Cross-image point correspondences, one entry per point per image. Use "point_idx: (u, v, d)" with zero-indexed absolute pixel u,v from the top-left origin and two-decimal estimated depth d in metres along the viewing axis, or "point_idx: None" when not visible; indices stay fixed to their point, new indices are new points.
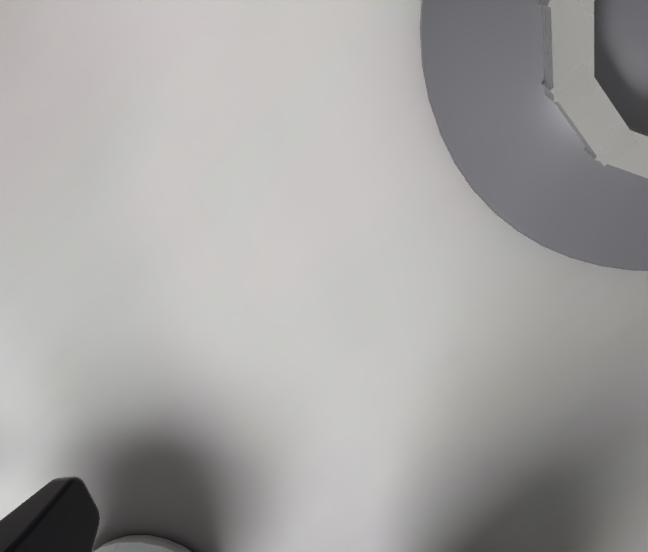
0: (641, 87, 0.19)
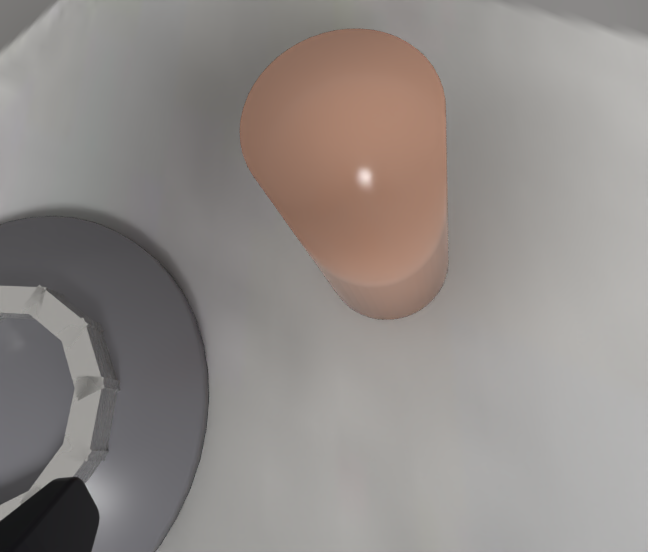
0: (0, 481, 0.24)
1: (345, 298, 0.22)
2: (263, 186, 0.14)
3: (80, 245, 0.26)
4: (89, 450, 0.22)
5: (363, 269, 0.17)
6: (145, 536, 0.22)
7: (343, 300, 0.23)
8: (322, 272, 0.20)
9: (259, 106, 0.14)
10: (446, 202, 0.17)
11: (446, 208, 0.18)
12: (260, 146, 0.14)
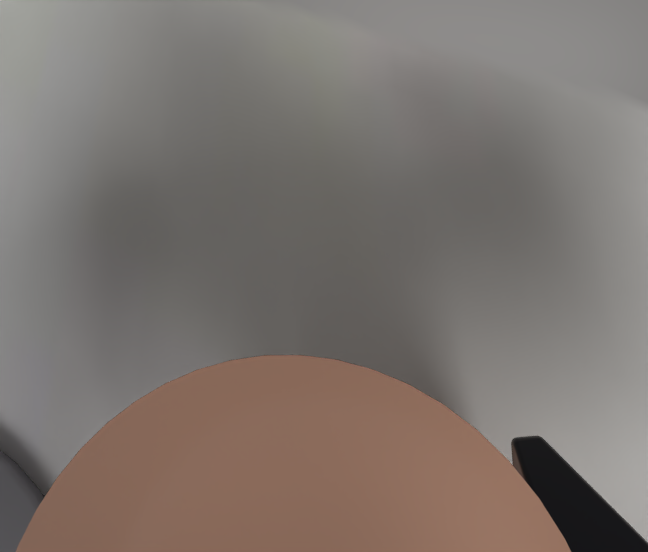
0: None
1: None
2: None
3: None
4: None
5: None
6: None
7: None
8: None
9: None
10: None
11: None
12: None
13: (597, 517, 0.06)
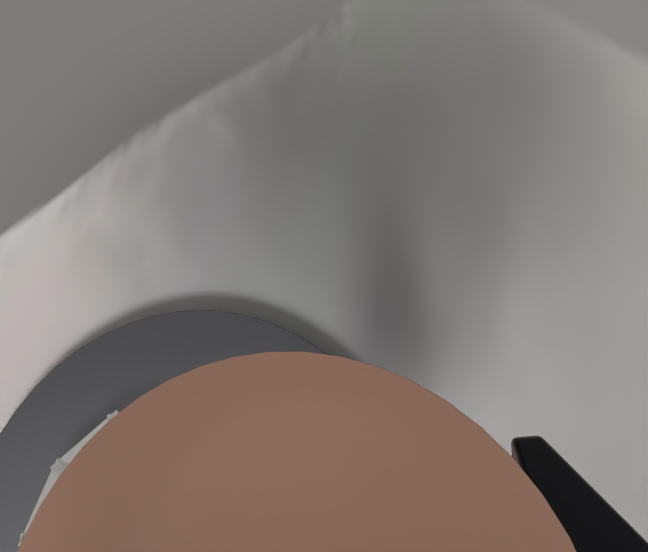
0: None
1: None
2: None
3: None
4: None
5: None
6: None
7: None
8: None
9: None
10: None
11: None
12: None
13: (597, 517, 0.06)
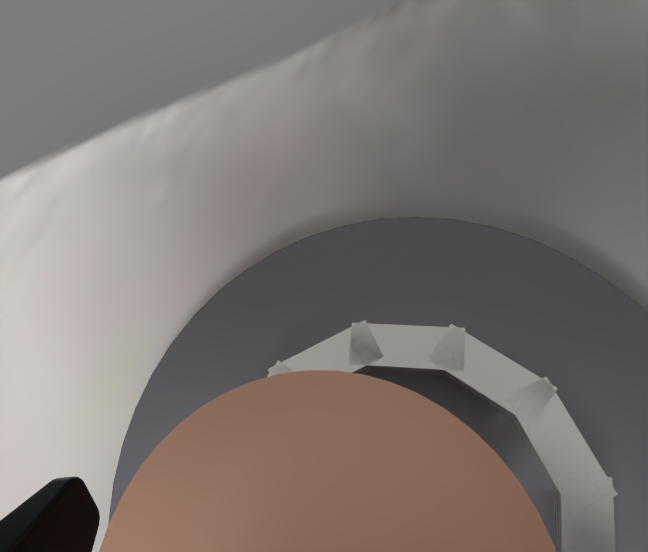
0: None
1: None
2: None
3: (602, 328, 0.16)
4: None
5: None
6: None
7: None
8: None
9: None
10: None
11: None
12: None
13: None
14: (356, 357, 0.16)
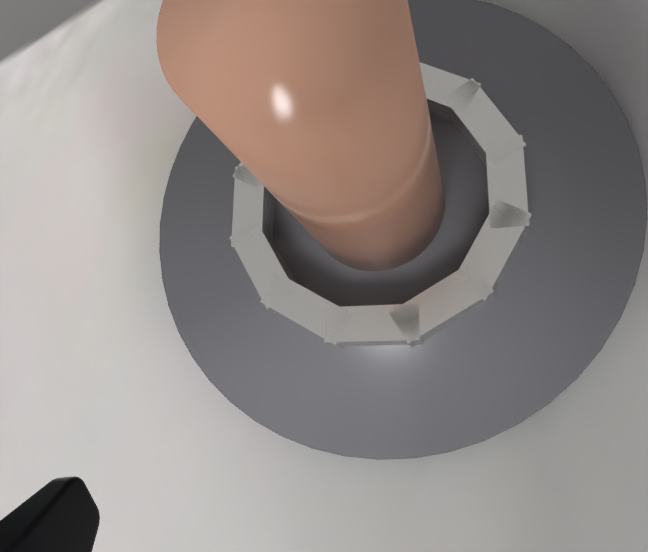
0: (351, 279, 0.21)
1: (329, 250, 0.19)
2: (187, 103, 0.11)
3: (519, 49, 0.21)
4: (490, 289, 0.18)
5: (334, 206, 0.14)
6: (515, 409, 0.18)
7: (330, 254, 0.21)
8: None
9: (177, 8, 0.12)
10: (426, 116, 0.14)
11: (428, 124, 0.15)
12: (181, 56, 0.11)
13: None
14: None
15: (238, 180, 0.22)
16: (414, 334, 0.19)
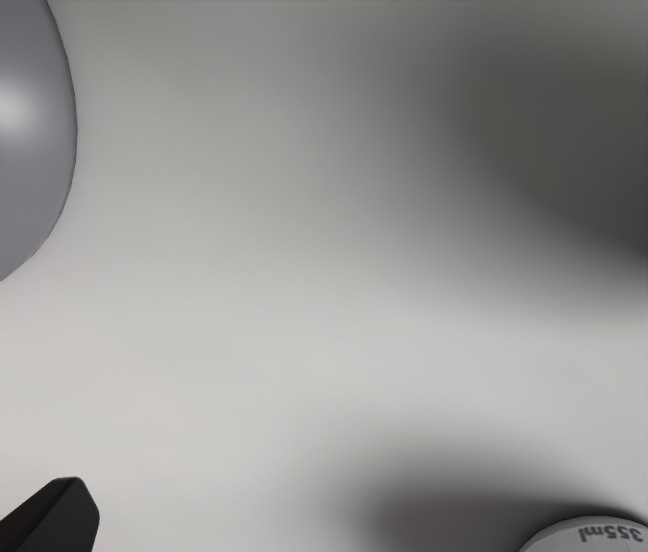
0: None
1: None
2: None
3: None
4: None
5: None
6: (27, 18, 0.18)
7: None
8: None
9: None
10: None
11: None
12: None
13: None
14: None
15: None
16: None
